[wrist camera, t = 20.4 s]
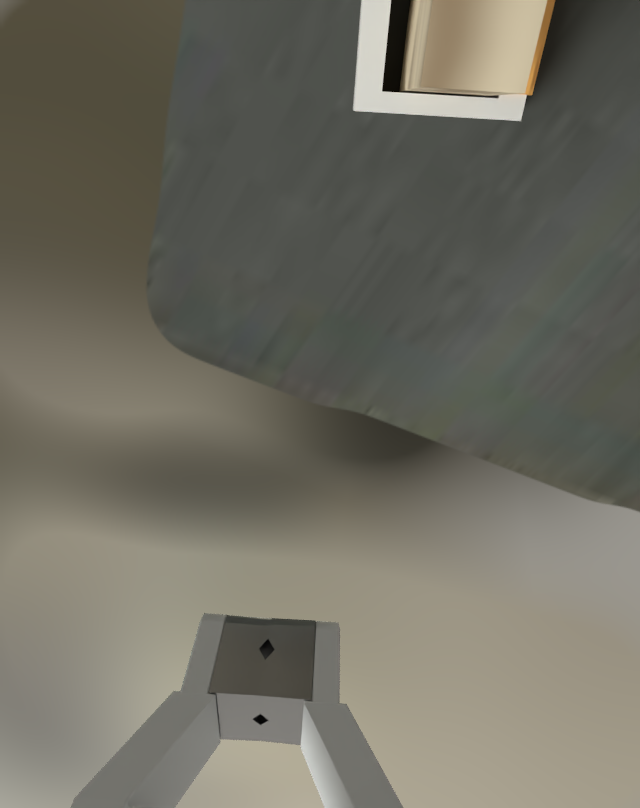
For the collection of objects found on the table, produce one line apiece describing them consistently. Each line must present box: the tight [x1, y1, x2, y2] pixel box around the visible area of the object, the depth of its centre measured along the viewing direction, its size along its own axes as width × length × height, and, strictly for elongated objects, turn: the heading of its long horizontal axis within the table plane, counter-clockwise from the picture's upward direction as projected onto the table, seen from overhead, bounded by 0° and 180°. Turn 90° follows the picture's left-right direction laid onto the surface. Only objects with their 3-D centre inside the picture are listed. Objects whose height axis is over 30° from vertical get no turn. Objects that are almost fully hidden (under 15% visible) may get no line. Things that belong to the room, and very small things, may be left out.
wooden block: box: [399, 0, 547, 97], centre depth 24 cm, size 5×5×10 cm
